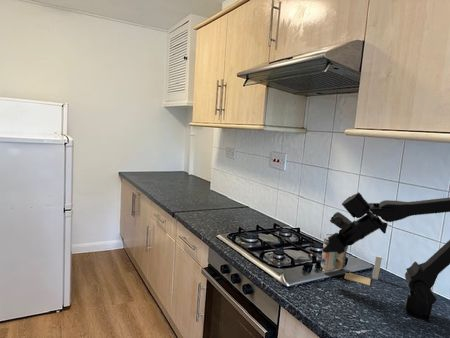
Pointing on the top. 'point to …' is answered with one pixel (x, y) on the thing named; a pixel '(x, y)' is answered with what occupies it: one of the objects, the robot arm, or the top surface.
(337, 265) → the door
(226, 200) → the top surface
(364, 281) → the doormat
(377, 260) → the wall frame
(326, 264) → the beer can
